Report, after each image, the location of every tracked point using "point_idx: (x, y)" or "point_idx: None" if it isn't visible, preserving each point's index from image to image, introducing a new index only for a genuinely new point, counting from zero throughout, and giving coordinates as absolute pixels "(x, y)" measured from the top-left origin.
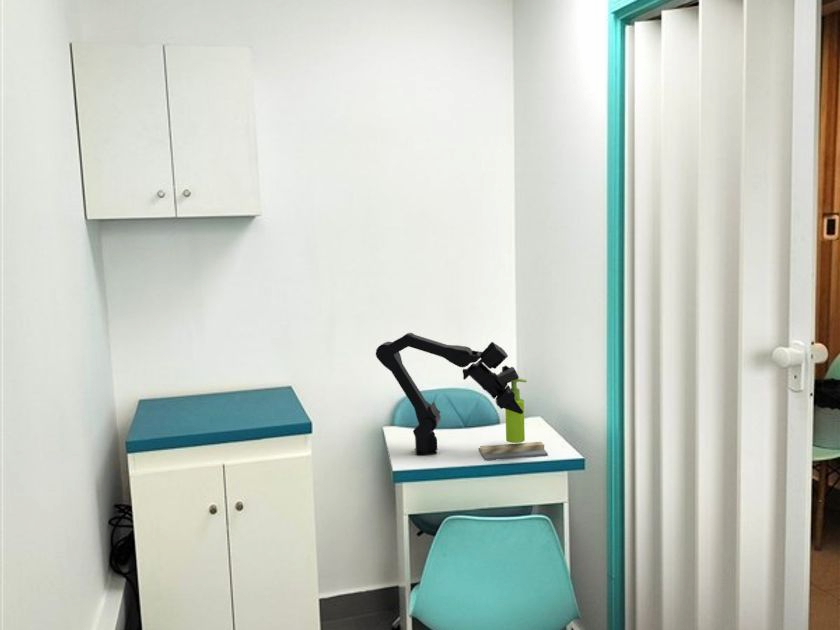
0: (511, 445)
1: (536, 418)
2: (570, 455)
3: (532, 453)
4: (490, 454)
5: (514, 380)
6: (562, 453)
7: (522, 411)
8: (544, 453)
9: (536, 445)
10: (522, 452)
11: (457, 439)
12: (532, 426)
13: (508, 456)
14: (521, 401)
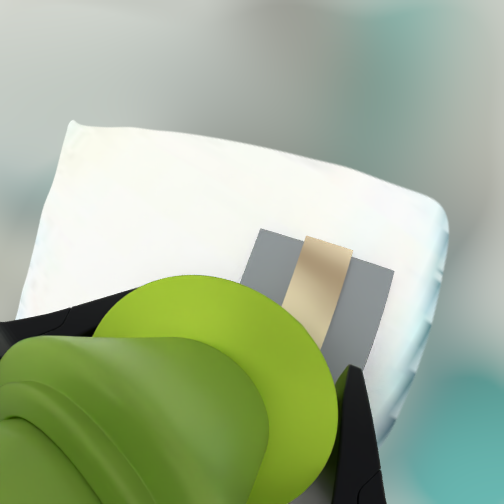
0: None
1: (71, 122)
2: (419, 201)
3: (365, 325)
4: None
5: None
6: (389, 210)
7: (361, 378)
8: (390, 283)
9: (342, 284)
10: (330, 354)
11: None
12: (96, 151)
13: None
14: (320, 378)
